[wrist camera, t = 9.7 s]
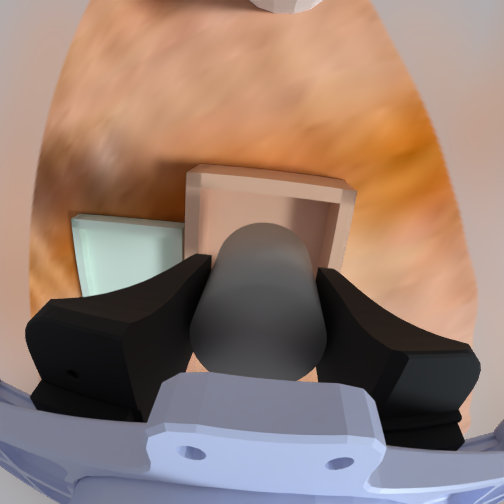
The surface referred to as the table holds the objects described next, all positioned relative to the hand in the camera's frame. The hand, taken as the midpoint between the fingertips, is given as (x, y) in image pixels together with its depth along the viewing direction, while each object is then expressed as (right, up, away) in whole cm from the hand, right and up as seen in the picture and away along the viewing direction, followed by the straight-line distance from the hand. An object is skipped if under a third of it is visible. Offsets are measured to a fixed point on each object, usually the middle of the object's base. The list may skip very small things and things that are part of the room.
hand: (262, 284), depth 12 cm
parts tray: (-10, -2, +11) cm, 15 cm away
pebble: (0, +1, +1) cm, 2 cm away
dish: (0, +1, +9) cm, 9 cm away
